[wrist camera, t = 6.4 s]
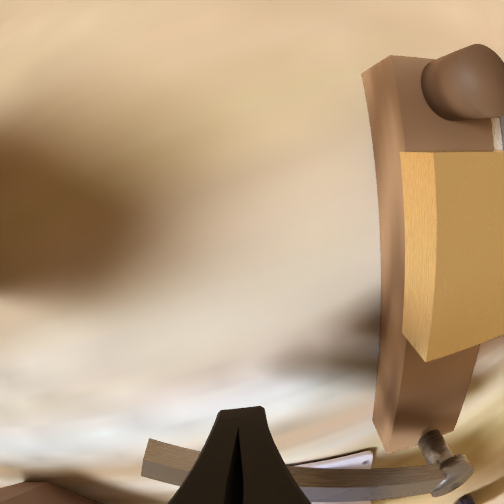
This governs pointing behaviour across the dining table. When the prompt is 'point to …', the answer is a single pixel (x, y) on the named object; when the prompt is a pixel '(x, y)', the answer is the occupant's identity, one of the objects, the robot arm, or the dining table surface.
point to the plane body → (393, 225)
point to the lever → (338, 473)
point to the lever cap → (453, 249)
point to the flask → (465, 500)
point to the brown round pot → (40, 494)
